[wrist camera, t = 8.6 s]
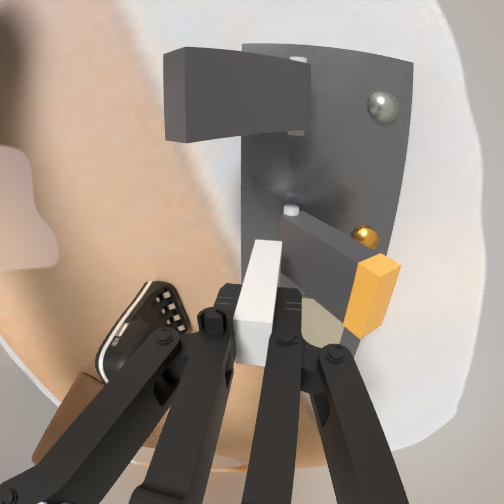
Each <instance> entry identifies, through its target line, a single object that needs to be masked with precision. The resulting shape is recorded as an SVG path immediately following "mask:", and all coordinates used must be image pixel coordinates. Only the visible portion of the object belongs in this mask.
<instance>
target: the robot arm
mask: <svg viewBox="0 0 504 504" xmlns="http://www.w3.org/2000/svg"><path fill="white" fill-rule="evenodd" d="M281 254H282V241H270V240H255V243H254V247H253V250H252V254H251V257H250V261H249V265H248V268H247V272H246V275H245V279H244V282H243V285H240V284H229V283H226V284H225V285H224V286H223V287H222V288H221V289H220V290H219V293H218V295H217V298H216V301H215V303H214V306H213V307H209V308H206V309H204V310H202V311H200V312H199V314H198V315H197V319H198V325H199V331H198V332H196V333H192V334H184V335H180V334H179V333H178V331H177V330H175V329H173V328H169V327H163V328H159V329H157V330H155V331H154V332H152V333H151V334H150V335H149V337H148V338H147V339H146V340H145V341H144V342H143V343H142V344H141V345H140V347H139V348H138V349H137V350H136V351H135V352H134V353H133V354H132V356H131V357H130V358H129V359H128V360H127V361H126V362H125V363H124V364H123V366H122V367H121V368H120V369H119V370H118V371H117V372H116V374H115V375H114V376H113V377H112V378H111V379H110V380H109V381H108V383H107V384H106V385H105V386H104V387H103V388H102V389H101V391H100V392H99V393H98V394H97V395H96V396H95V397H94V399H93V400H92V401H91V402H90V403H89V404H88V405H87V407H86V408H85V409H84V410H83V411H82V412H81V414H80V415H79V416H78V417H77V418H76V419H75V420H74V422H73V423H72V424H71V425H70V426H69V427H68V429H67V430H66V431H65V432H64V433H63V434H62V436H61V437H60V438H59V439H58V440H57V442H56V443H55V444H54V445H53V446H52V447H51V449H50V450H49V451H48V452H47V453H46V455H45V456H44V457H43V458H42V459H41V461H40V462H39V463H38V464H37V465H36V466H34V467H32V468H30V469H28V470H27V471H24V472H23V473H21V474H19V475H17V476H15V477H13V478H11V479H9V480H7V481H5V482H3V483H2V484H1V485H0V504H99V503H100V502H101V500H102V499H103V498H104V496H105V495H106V494H107V493H108V491H109V490H110V489H111V487H112V486H113V485H114V483H115V482H116V481H117V479H118V478H119V476H120V475H121V474H122V472H123V471H124V470H125V468H126V467H127V466H128V464H129V463H130V461H131V460H132V459H133V457H134V456H135V455H136V453H137V452H138V450H139V449H140V447H141V446H142V445H143V443H144V442H145V441H146V439H147V438H148V437H149V435H150V434H151V432H152V431H153V430H154V428H155V427H156V425H157V424H158V423H159V421H160V420H161V418H162V417H163V415H164V414H165V413H166V411H167V410H168V408H169V407H170V406H171V407H170V410H169V413H168V415H167V418H166V421H165V424H164V426H163V429H162V432H161V435H160V437H159V440H158V443H157V446H156V449H155V452H154V455H153V457H152V460H151V463H150V466H149V468H148V471H147V474H146V477H145V480H144V482H143V483H142V484H141V485H139V486H138V487H136V489H135V490H134V491H133V493H132V495H131V498H130V501H129V504H202V502H203V498H204V494H205V490H206V486H207V482H208V478H209V474H210V470H211V465H212V461H213V457H214V453H215V449H216V445H217V441H218V437H219V433H220V428H221V424H222V420H223V416H224V412H225V407H226V403H227V399H228V395H229V391H230V386H231V382H232V378H233V374H234V368H233V365H234V360H235V362H236V363H239V364H247V365H257V366H265V369H264V376H263V382H262V389H261V395H260V401H259V407H258V413H257V419H256V425H255V431H254V437H253V443H252V449H251V454H250V460H249V465H248V471H247V477H246V482H245V487H244V492H243V497H242V502H241V504H291V498H292V488H293V479H294V469H295V458H296V446H297V434H298V420H299V404H300V390H301V391H303V392H306V393H309V394H310V399H311V402H312V406H313V410H314V414H315V417H316V421H317V425H318V429H319V433H320V436H321V440H322V444H323V448H324V452H325V456H326V460H327V464H328V468H329V472H330V476H331V480H332V484H333V488H334V492H335V496H336V500H337V504H409V502H408V499H407V496H406V493H405V490H404V487H403V484H402V481H401V479H400V476H399V473H398V470H397V467H396V464H395V462H394V459H393V456H392V453H391V451H390V448H389V445H388V442H387V440H386V437H385V435H384V432H383V429H382V427H381V424H380V422H379V419H378V416H377V414H376V411H375V409H374V406H373V404H372V401H371V399H370V396H369V394H368V391H367V389H366V387H365V384H364V382H363V379H362V377H361V375H360V372H359V370H358V367H357V365H356V363H355V360H354V358H353V356H352V353H351V352H350V351H349V349H348V348H346V347H345V346H343V345H340V344H328V345H325V346H324V347H323V348H319V347H316V346H313V345H311V344H309V343H308V342H307V341H306V340H305V339H304V338H303V336H302V332H301V326H302V294H301V293H300V291H299V290H298V288H285V287H279V284H280V270H281Z"/></svg>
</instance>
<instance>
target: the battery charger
mask: <svg viewBox="0 0 504 504" xmlns="http://www.w3.org/2000/svg"><path fill="white" fill-rule="evenodd" d="M163 327H169V328H173V329H175V330H177V331H178V333H179V334H180V335H184V334H185V333H186V332H187V330H188V328H189V322H188V319H187V317H186V315H185V312H184V310H183V307H182V305H181V303H180V300H179V298H178V296H177V293H176V291H175V289H174V288H173V286H172V285H171V284H169V283H167V282H162V281H149V282H146V283H145V284H144V285H143V287H142V288H141V290H140V291H139V293H138V294H137V295H136V297H135V298H134V300H133V301H132V302H131V304H130V305H129V306H128V307H127V309H126V310H125V311H124V313H123V314H122V315H121V316H120V318H119V319H118V320H117V322H116V323H115V325H114V326H113V327H112V329H111V330H110V332H109V333H108V335H107V336H106V338H105V340H104V341H103V343H102V345H101V346H100V348H99V350H98V352H97V354H96V359H95V367H96V371H97V373H98V375H99V376H100V378H101V379H102V380H103V382H104V383H105V384H107V383H108V381H109V380H110V379H111V378H112V377H113V376H114V375H115V374H116V372H117V371H118V370H119V369H120V368H121V367H122V366H123V364H124V363H125V362H126V361H127V360H128V359H129V358H130V357H131V356H132V354H133V353H134V352H135V351H136V350H137V349H138V348H139V347H140V345H141V344H142V343H143V342H144V341H145V340H146V339H147V338H148V337H149V335H150V334H151V333H152V332H154V331H155V330H157V329H159V328H163Z"/></svg>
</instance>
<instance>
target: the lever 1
mask: <svg viewBox="0 0 504 504" xmlns="http://www.w3.org/2000/svg"><path fill="white" fill-rule="evenodd" d="M163 78H164V118H165V139H166V140H168V141H175V142H181V143H192V142H198V141H204V140H211V139H218V138H226V137H234V136H242V135H251V134H261V133H272V132H285V131H288V135H294V136H304V131H305V130H309V109H310V83H311V64H309V63H307V58H304V57H290V59H286V58H280V57H275V56H269V55H263V54H257V53H250V52H242V51H234V50H224V49H213V48H199V47H183V48H180V49H177V50H174V51H172V52H169V53H166V54H163Z"/></svg>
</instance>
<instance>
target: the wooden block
mask: <svg viewBox="0 0 504 504" xmlns="http://www.w3.org/2000/svg"><path fill="white" fill-rule="evenodd" d="M104 386H105V384H103V383H101V382H99V381H97V380H95V379H93V378H91V377H90V376H88V375H86V374H84V373H81V374H79V375H78V377H77V378H76V380H75V382H74V383H73V385H72V386H71V388H70V390H69V391H68V393H67V395H66V396H65V398H64V400H63V401H62V403H61V405H60V406H59V408H58V410H57V412H56V414H55V415H54V417H53V419H52V420H51V422H50V424H49V426H48V427H47V429H46V431H45V433H44V435H43V437H42V439H41V440H40V442H39V444H38V446H37V448H36V450H35V451H34V454H33V455H32V462H33V463H34V464H35V465H37V464H38V463H39V462H40V461H41V459H42V458H43V457H44V456H45V455H46V453H47V452H48V451H49V450H50V449H51V447H52V446H53V445H54V444H55V443H56V442H57V440H58V439H59V438H60V437H61V436H62V434H63V433H64V432H65V431H66V430H67V429H68V427H69V426H70V425H71V424H72V423H73V422H74V420H75V419H76V418H77V417H78V416H79V415H80V414H81V412H82V411H83V410H84V409H85V408H86V407H87V405H88V404H89V403H90V402H91V401H92V400H93V399H94V397H95V396H96V395H97V394H98V393H99V392H100V391H101V389H102V388H103V387H104Z"/></svg>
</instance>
